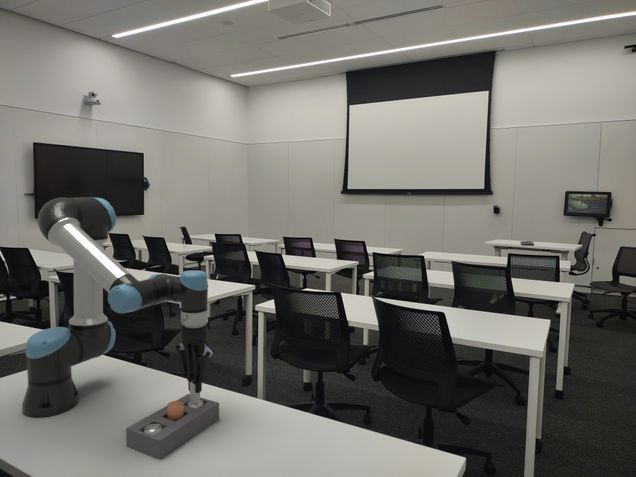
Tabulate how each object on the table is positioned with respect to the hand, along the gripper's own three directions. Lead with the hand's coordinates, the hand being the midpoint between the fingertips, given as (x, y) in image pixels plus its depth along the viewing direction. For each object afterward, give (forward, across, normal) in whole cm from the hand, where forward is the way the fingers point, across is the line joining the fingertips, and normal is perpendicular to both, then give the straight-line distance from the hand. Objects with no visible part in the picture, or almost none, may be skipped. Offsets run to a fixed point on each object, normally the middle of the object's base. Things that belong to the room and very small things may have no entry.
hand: (195, 401), depth 132 cm
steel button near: (+5, 0, -16) cm, 17 cm away
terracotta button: (+2, 0, -8) cm, 8 cm away
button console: (+5, 0, -8) cm, 10 cm away
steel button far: (+5, 0, 0) cm, 5 cm away
